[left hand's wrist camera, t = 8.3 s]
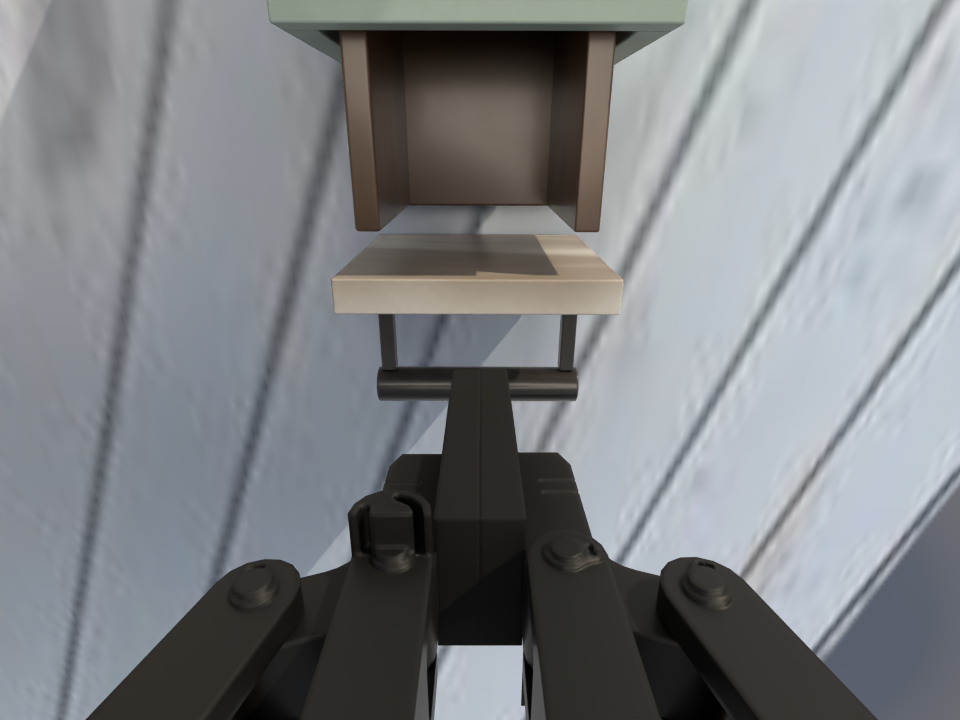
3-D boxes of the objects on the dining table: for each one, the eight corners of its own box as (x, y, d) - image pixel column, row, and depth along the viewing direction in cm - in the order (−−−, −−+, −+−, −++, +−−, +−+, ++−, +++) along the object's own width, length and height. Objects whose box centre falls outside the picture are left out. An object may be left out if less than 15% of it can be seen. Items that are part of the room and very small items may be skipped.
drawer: (567, 357, 28) (605, 450, 20) (388, 357, 28) (348, 450, 20) (611, -259, 19) (717, -581, 11) (346, -259, 19) (238, -583, 11)
